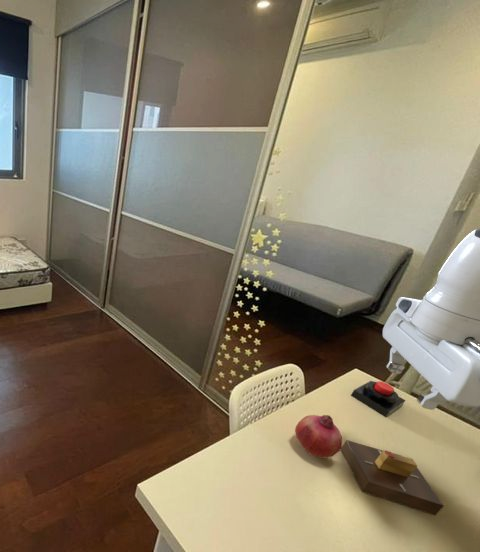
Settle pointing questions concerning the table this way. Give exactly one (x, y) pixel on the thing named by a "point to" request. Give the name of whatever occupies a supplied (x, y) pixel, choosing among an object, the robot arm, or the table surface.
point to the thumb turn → (395, 463)
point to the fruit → (319, 435)
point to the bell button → (384, 388)
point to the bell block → (377, 399)
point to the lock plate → (389, 480)
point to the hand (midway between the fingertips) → (407, 387)
